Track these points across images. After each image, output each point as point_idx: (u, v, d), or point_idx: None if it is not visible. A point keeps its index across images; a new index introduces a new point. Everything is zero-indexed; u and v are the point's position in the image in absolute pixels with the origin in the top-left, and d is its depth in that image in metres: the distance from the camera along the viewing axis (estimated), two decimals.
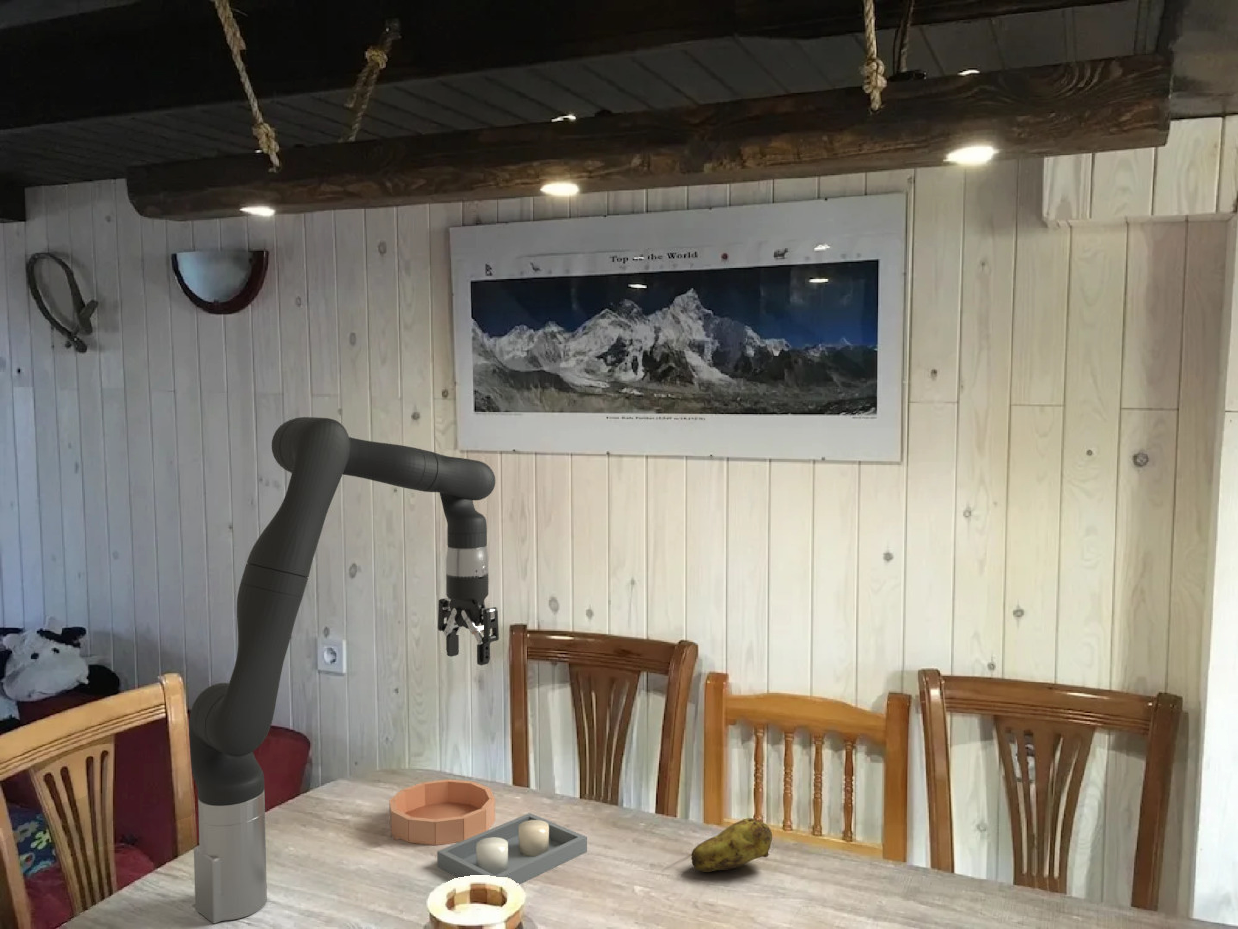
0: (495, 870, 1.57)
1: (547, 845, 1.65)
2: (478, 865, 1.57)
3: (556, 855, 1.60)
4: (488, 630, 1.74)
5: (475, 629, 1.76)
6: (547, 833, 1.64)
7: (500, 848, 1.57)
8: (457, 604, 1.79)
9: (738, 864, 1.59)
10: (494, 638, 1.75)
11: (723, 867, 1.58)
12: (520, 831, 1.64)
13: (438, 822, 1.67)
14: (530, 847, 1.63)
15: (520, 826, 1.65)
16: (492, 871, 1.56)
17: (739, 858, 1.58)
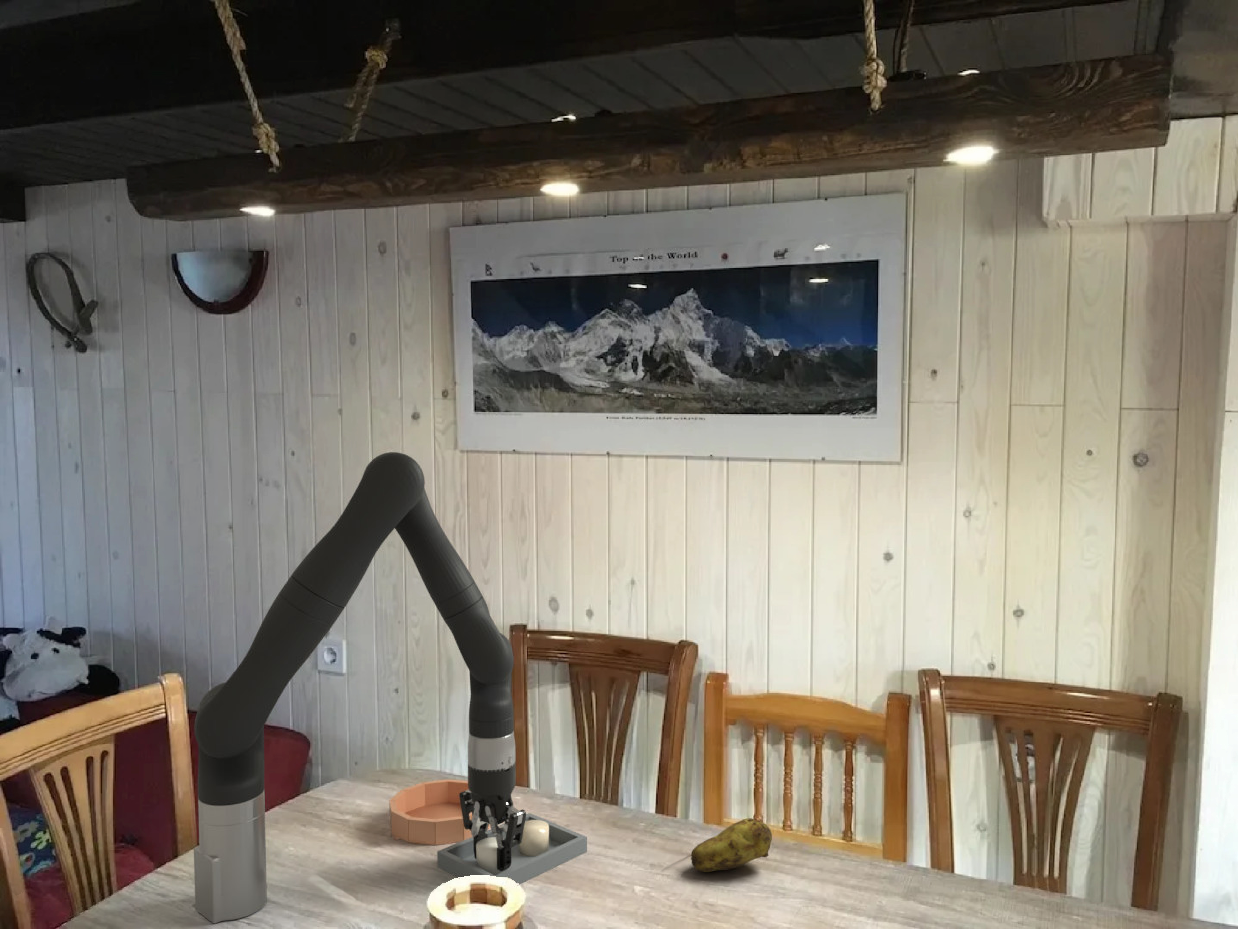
0: (495, 870, 1.57)
1: (547, 845, 1.65)
2: (478, 865, 1.57)
3: (556, 855, 1.60)
4: (512, 837, 1.54)
5: (497, 832, 1.55)
6: (547, 833, 1.64)
7: None
8: (480, 796, 1.58)
9: (738, 864, 1.59)
10: (516, 842, 1.55)
11: (722, 867, 1.58)
12: None
13: (438, 822, 1.67)
14: (530, 847, 1.63)
15: None
16: (492, 871, 1.56)
17: (739, 858, 1.58)
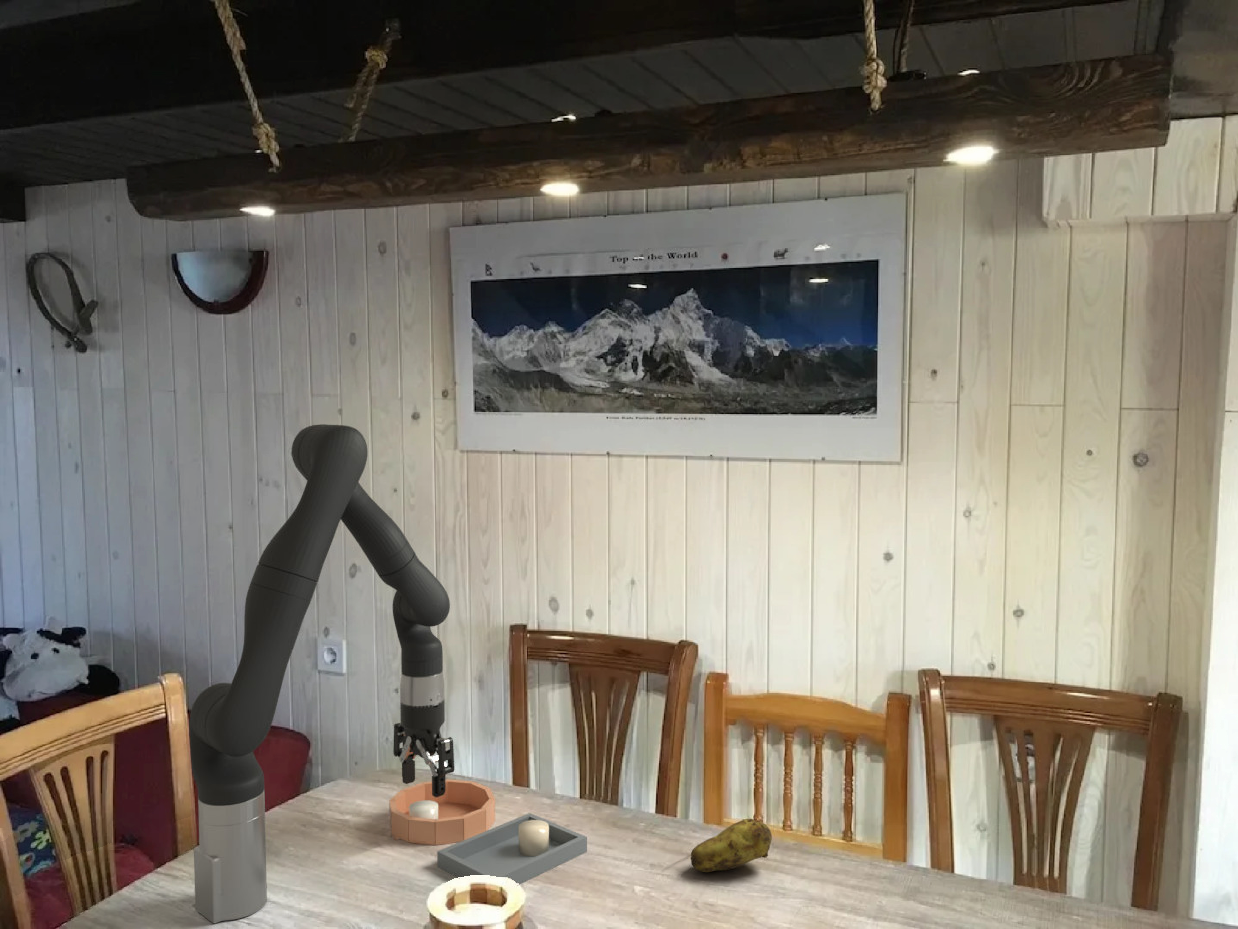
0: None
1: (547, 845, 1.65)
2: None
3: (556, 855, 1.60)
4: (443, 763, 1.67)
5: (430, 760, 1.69)
6: (547, 833, 1.64)
7: (431, 809, 1.72)
8: (412, 731, 1.73)
9: (737, 864, 1.59)
10: (449, 770, 1.68)
11: (722, 867, 1.58)
12: (520, 831, 1.64)
13: (438, 822, 1.67)
14: (530, 847, 1.63)
15: (520, 826, 1.65)
16: None
17: (738, 859, 1.58)
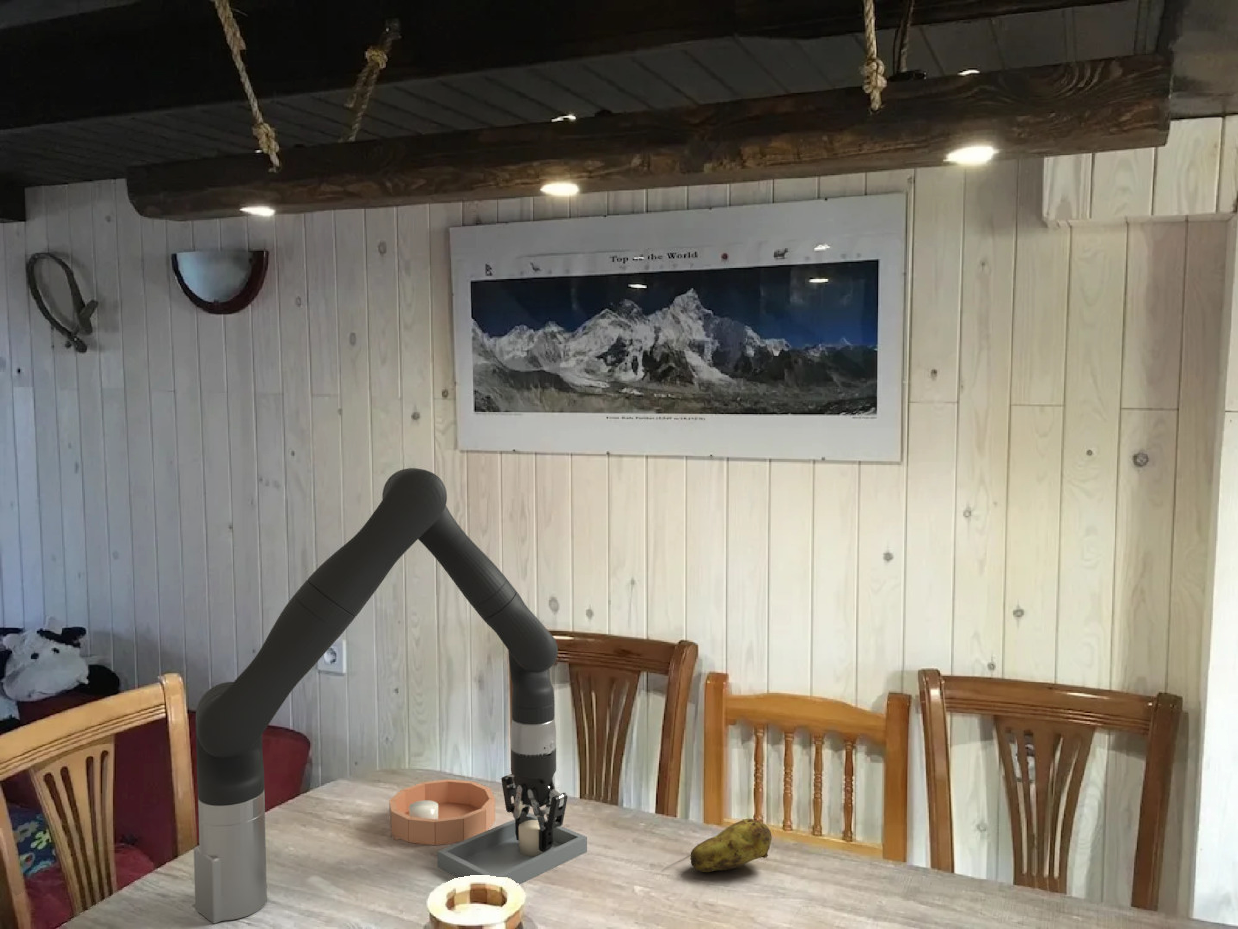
0: None
1: None
2: None
3: (556, 855, 1.60)
4: (554, 819, 1.60)
5: (540, 814, 1.62)
6: None
7: (431, 810, 1.72)
8: (522, 780, 1.65)
9: (737, 864, 1.58)
10: (558, 824, 1.62)
11: (722, 867, 1.58)
12: (520, 831, 1.64)
13: (438, 822, 1.67)
14: (530, 847, 1.63)
15: (520, 826, 1.65)
16: None
17: (738, 859, 1.58)
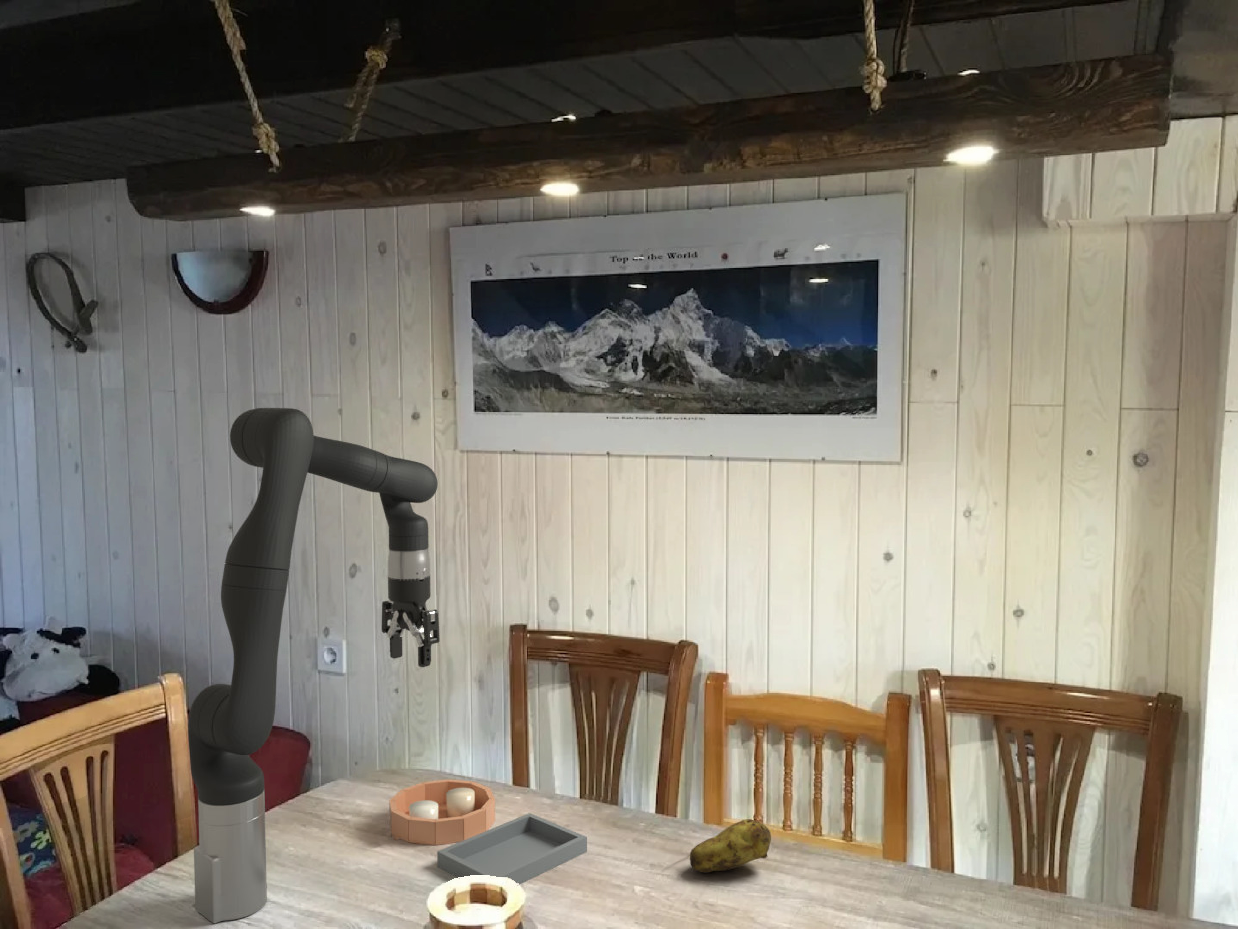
0: None
1: (473, 810, 1.79)
2: None
3: (556, 855, 1.60)
4: (428, 632, 1.75)
5: (416, 631, 1.76)
6: (472, 799, 1.78)
7: (430, 810, 1.72)
8: (399, 606, 1.80)
9: (736, 865, 1.58)
10: (434, 640, 1.76)
11: (721, 868, 1.58)
12: (447, 797, 1.78)
13: (438, 822, 1.67)
14: (456, 812, 1.77)
15: (448, 793, 1.79)
16: None
17: (737, 859, 1.57)
